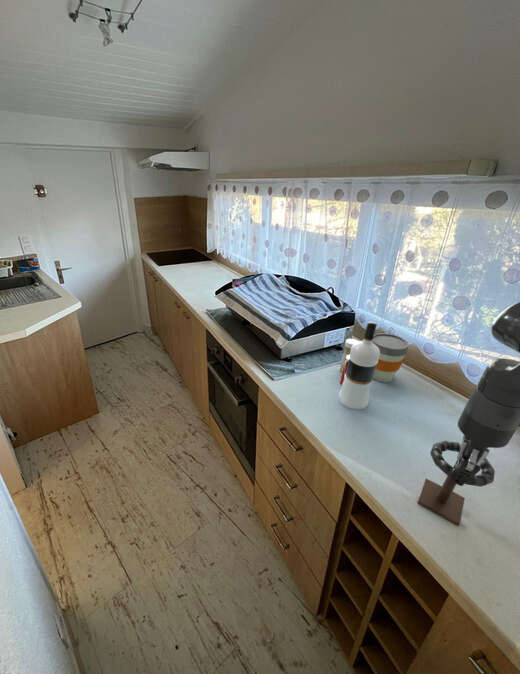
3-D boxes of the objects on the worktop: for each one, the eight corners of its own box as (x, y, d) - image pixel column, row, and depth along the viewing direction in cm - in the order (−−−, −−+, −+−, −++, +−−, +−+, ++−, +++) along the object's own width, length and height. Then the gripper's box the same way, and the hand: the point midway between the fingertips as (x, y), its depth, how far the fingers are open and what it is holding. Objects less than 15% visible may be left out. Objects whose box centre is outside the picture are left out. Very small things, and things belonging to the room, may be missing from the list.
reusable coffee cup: (376, 386, 111) (386, 351, 104) (355, 367, 122) (363, 334, 115) (406, 382, 113) (417, 347, 106) (383, 364, 124) (392, 331, 117)
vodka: (339, 409, 101) (358, 328, 86) (336, 392, 109) (352, 315, 94) (369, 413, 99) (393, 331, 85) (364, 395, 107) (385, 317, 93)
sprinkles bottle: (344, 366, 123) (351, 337, 117) (354, 371, 120) (361, 342, 113) (337, 370, 121) (343, 340, 115) (346, 375, 117) (353, 345, 111)
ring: (494, 463, 66) (497, 457, 66) (489, 498, 59) (493, 491, 58) (435, 438, 73) (438, 432, 72) (424, 466, 66) (427, 460, 65)
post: (463, 500, 72) (481, 469, 67) (458, 526, 67) (477, 494, 62) (424, 480, 77) (438, 450, 72) (417, 503, 72) (432, 472, 67)
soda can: (346, 391, 109) (353, 363, 103) (336, 383, 113) (342, 355, 107) (357, 387, 111) (364, 359, 105) (347, 379, 115) (353, 352, 109)
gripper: (518, 448, 48) (475, 514, 56) (519, 404, 57) (482, 466, 65) (460, 425, 53) (429, 490, 61) (470, 388, 62) (441, 448, 70)
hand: (457, 477), depth 63 cm, fingers closed on ring, 2 cm apart
